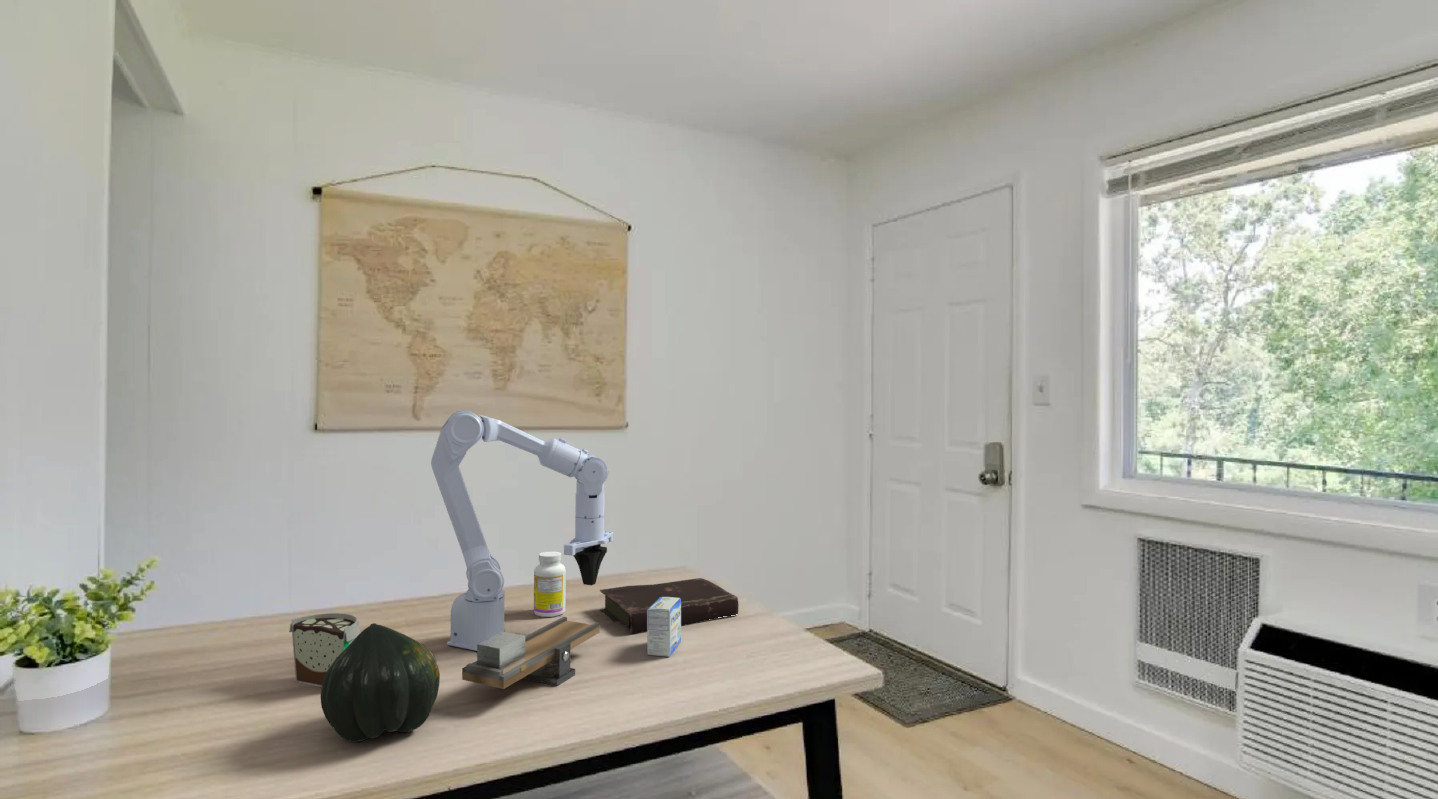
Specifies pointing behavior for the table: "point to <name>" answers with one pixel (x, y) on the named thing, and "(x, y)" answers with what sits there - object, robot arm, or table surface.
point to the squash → (379, 685)
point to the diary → (695, 596)
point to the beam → (533, 652)
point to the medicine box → (664, 626)
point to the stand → (554, 668)
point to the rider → (501, 651)
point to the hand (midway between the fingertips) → (589, 584)
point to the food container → (320, 643)
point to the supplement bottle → (549, 585)
